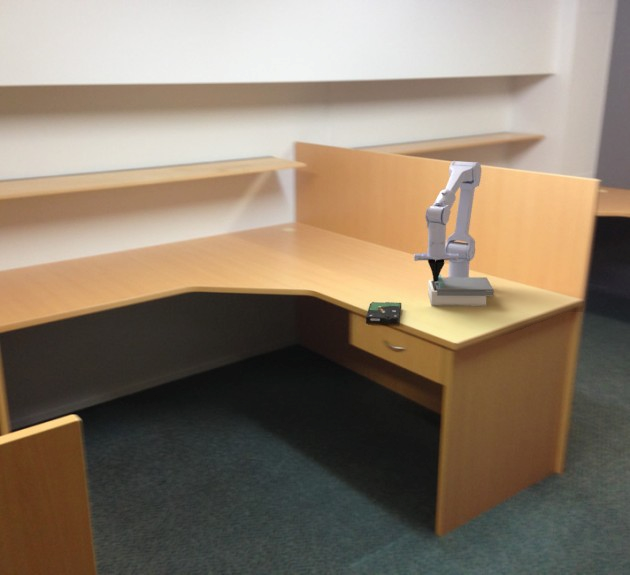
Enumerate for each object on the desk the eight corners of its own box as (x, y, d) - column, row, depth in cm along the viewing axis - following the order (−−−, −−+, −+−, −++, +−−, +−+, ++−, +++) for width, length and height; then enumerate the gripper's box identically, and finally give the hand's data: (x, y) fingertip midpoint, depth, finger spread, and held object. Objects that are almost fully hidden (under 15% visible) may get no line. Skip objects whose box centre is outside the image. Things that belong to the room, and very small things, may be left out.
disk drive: (399, 326, 214) (401, 309, 228) (399, 318, 213) (401, 301, 227) (365, 325, 216) (370, 308, 230) (365, 316, 215) (370, 300, 229)
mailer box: (428, 293, 242) (428, 280, 240) (479, 293, 241) (480, 280, 239) (431, 305, 230) (431, 291, 228) (485, 306, 229) (486, 291, 227)
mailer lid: (433, 282, 242) (433, 271, 240) (486, 282, 240) (486, 271, 239) (437, 295, 228) (437, 284, 227) (493, 295, 226) (494, 284, 225)
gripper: (415, 244, 226) (414, 284, 231) (460, 244, 225) (458, 284, 229) (414, 239, 233) (413, 278, 237) (457, 239, 232) (455, 278, 236)
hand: (435, 280), depth 234 cm, fingers closed
